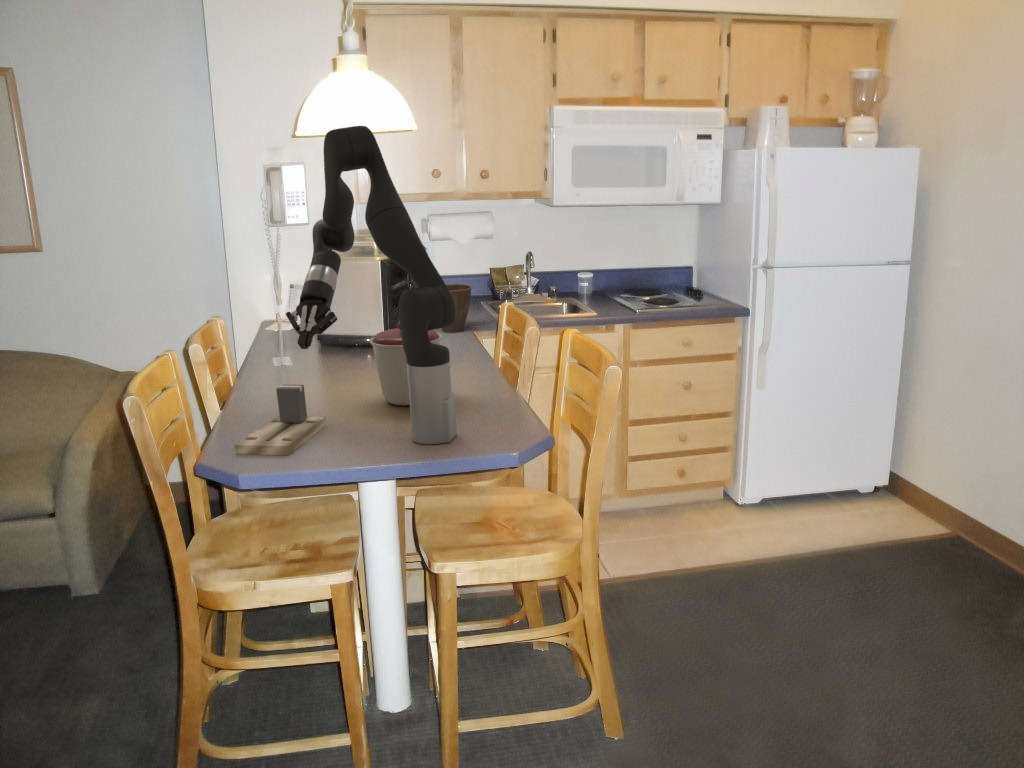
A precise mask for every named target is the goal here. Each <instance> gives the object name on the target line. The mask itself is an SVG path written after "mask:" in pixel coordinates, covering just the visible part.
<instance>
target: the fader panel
mask: <svg viewBox="0 0 1024 768" xmlns="http://www.w3.org/2000/svg"><path fill="white" fill-rule="evenodd" d="M326 418H327V417H326V416H307V419H305V420H304V421H303V422H301V423H288V422H280V415H276V417H274V418H273V419H271V420H270V421H268V422H266V423H265V424H264V425H262V426H261V427H259V428H258V429H256V430H255V431H253V432H251V434H249V435H247V436H246V437H244V438H243V439H241V440H240V441H238V442H237V443H235V444H234V451H235V455H236V454H237V455H261V456H262V455H263V456H266V455H267V456H268V455H269V456H289V455H291V454H292V453H294V452H295V450H297V449H298V448H300V447H301V446H302V445H303V444H304V443H306V442H307V441H308V440H310V439H311V438H312V437H313V436H315V435H316V434H317V433H318V432H320V431H321V430H322V429H324V428H325V427H326V426H327V419H326Z"/></svg>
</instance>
